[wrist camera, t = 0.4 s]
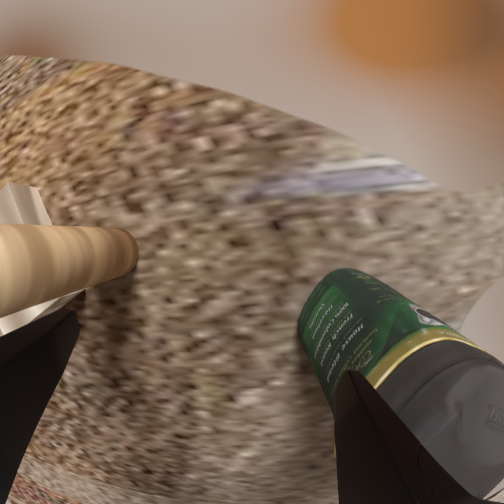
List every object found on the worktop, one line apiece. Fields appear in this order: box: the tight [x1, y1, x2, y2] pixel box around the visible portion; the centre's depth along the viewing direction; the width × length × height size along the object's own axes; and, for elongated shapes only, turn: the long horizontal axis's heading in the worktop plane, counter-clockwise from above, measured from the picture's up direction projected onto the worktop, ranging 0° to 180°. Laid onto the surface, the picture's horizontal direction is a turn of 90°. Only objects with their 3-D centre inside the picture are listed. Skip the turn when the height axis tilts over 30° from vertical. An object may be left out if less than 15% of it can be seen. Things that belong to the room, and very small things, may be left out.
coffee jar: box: [298, 268, 504, 499], centre depth 16 cm, size 10×8×19 cm
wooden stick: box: [0, 224, 138, 318], centre depth 17 cm, size 4×4×16 cm
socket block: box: [0, 182, 85, 337], centre depth 22 cm, size 11×11×4 cm
